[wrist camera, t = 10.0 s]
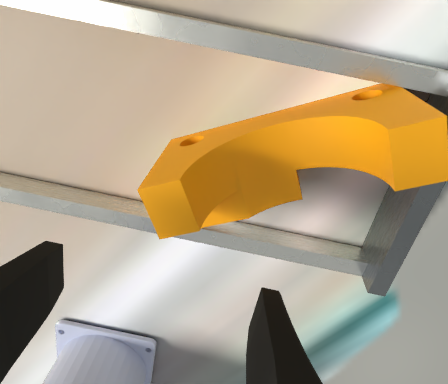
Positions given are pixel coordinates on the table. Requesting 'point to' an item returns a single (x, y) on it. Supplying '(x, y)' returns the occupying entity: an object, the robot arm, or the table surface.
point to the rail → (236, 231)
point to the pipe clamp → (294, 156)
